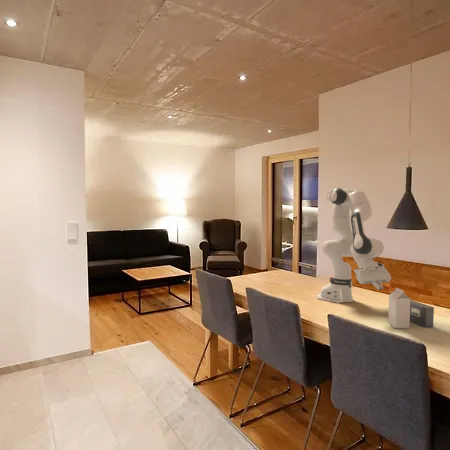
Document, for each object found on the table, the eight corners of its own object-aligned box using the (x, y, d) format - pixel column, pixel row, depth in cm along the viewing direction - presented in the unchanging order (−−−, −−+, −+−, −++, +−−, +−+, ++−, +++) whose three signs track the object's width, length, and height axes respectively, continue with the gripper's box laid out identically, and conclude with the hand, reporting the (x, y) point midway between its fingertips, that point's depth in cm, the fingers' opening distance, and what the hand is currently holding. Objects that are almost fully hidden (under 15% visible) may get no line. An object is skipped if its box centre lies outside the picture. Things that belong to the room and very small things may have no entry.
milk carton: (401, 323, 176) (402, 287, 175) (409, 328, 169) (410, 290, 168) (388, 323, 176) (389, 287, 175) (395, 328, 169) (396, 290, 168)
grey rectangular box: (390, 314, 191) (391, 296, 190) (398, 313, 192) (399, 296, 192) (424, 327, 170) (425, 308, 169) (433, 326, 171) (433, 307, 171)
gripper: (355, 265, 187) (367, 287, 178) (385, 263, 193) (398, 284, 185) (350, 272, 191) (361, 293, 183) (379, 270, 198) (392, 290, 189)
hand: (380, 288), depth 184 cm, fingers closed
